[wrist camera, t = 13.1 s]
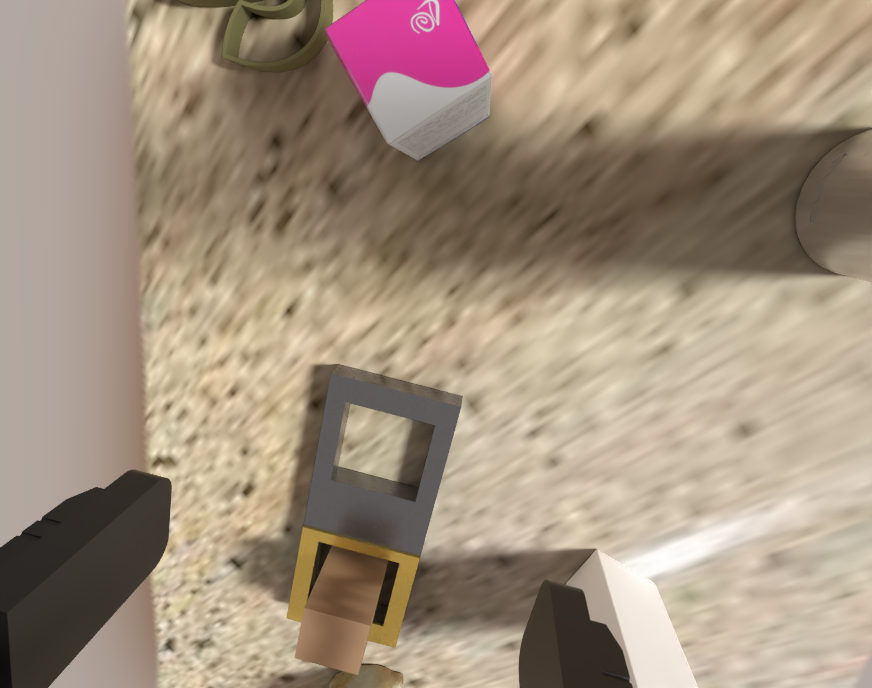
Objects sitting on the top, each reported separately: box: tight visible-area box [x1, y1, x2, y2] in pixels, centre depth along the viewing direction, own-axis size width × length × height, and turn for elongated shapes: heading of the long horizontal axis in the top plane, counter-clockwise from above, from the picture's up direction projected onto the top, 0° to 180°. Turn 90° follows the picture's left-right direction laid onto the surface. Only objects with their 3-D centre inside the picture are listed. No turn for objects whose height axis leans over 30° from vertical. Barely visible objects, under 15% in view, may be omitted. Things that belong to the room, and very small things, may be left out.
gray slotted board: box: [287, 364, 463, 648], centre depth 42 cm, size 10×24×2 cm, turn 167°
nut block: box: [295, 545, 389, 675], centre depth 41 cm, size 5×5×8 cm
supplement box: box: [325, 0, 492, 161], centre depth 28 cm, size 6×6×11 cm
